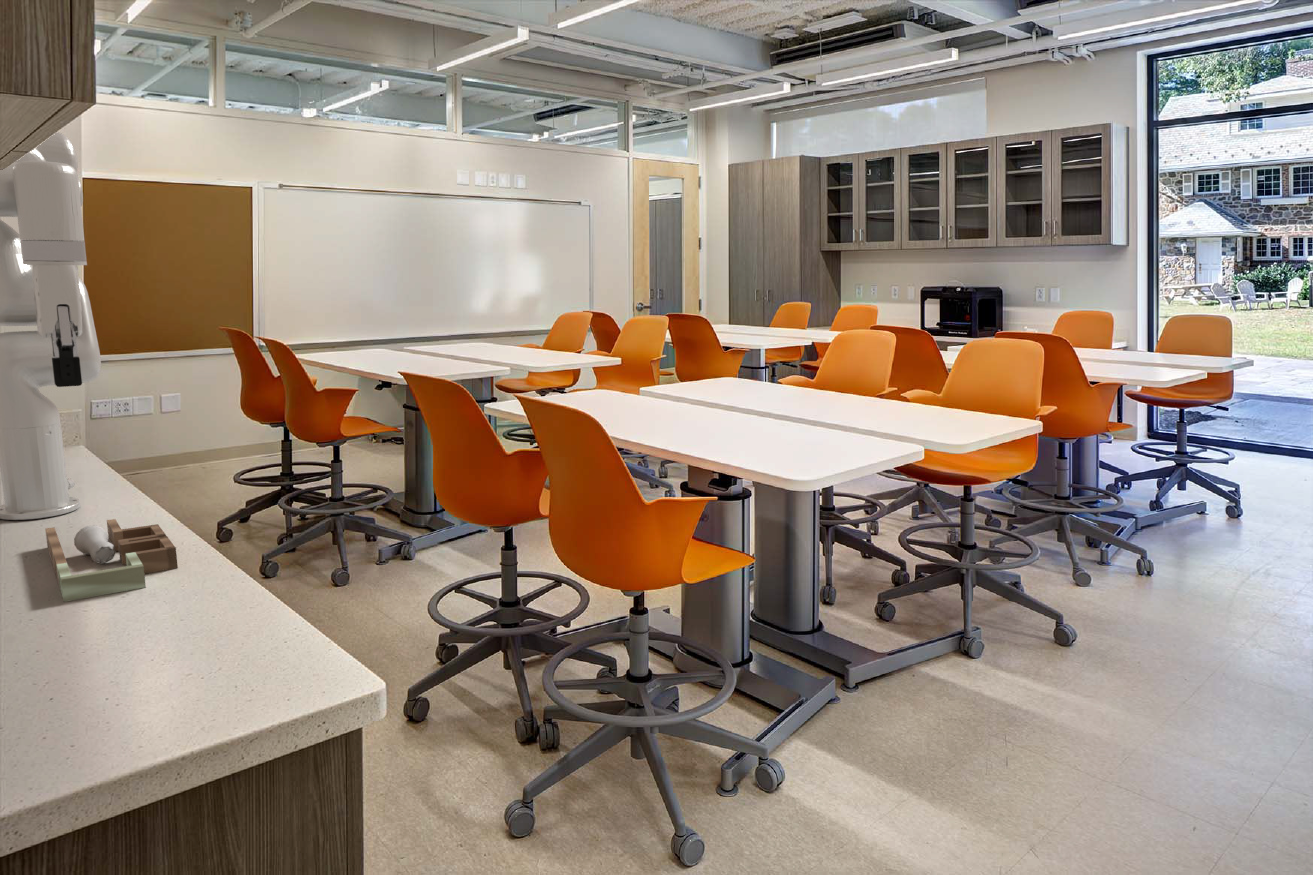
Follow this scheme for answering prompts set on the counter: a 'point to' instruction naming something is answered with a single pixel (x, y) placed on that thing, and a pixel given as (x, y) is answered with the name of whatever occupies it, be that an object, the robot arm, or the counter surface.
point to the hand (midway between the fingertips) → (68, 385)
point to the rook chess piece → (95, 544)
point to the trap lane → (136, 549)
